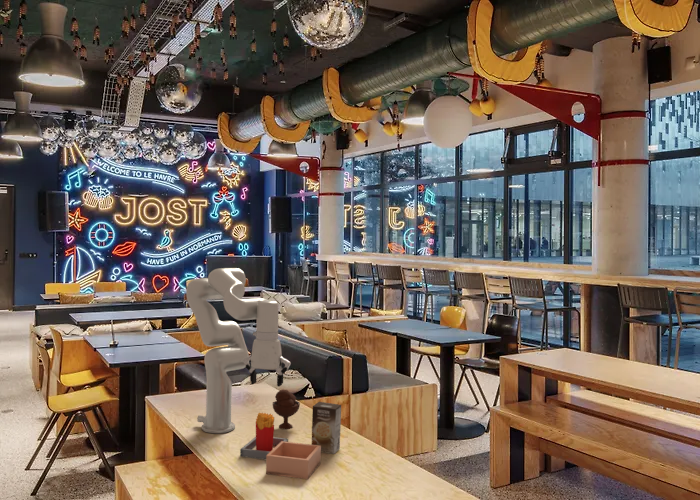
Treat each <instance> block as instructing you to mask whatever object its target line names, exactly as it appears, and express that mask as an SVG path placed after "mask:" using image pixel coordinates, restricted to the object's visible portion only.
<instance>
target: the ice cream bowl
mask: <svg viewBox="0 0 700 500" xmlns="http://www.w3.org/2000/svg"><path fill="white" fill-rule="evenodd" d="M300 404H301V403H300V401H298V400H297V397H296V396H295V395H294V394H293V393H292V392H290V391H289V390H288V389H280V390H278V391H277V392H276V394H275V400H274V401H273V402H272V408H273V411H274V413H275V414H277V416H280V417H282V418H283V422H282V423H281V424H279V425H278V429H280V430H291V429H292V428H293V425H292V424H291V423H290V422H289V417H292V416H294V415H296V414H297V412H298V411H299V409H300ZM290 428H291V429H290Z"/></svg>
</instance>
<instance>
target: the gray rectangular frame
mask: <svg viewBox="0 0 700 500" xmlns="http://www.w3.org/2000/svg"><path fill="white" fill-rule="evenodd" d="M281 441H285V442H289V438H283V437H276V436H273V446H277V445H278V444H279V443H280V442H281ZM254 448H256V436H255V437H254V438H252V439H251V440H250V441H248V442H247V443H246V444H245V445H244V446H243V447H241V448H240V451H239V454H240V455H239V457H240V458H241V457H243V458H250V459H257V460H266V455H267V454H268V453H269V451H261V450H256V449H254Z"/></svg>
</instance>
